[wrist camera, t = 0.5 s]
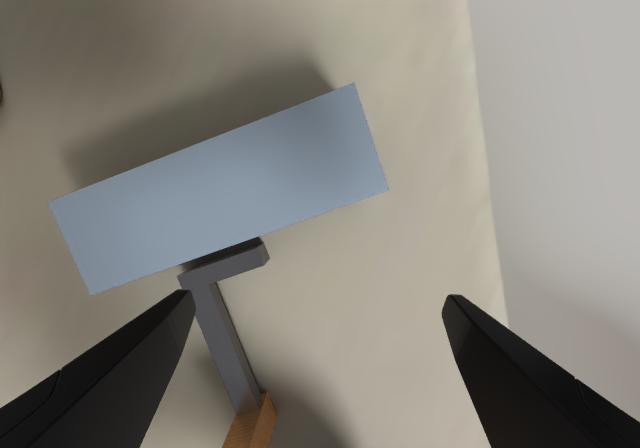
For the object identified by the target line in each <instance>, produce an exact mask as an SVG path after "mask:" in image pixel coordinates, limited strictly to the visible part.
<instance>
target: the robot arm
mask: <svg viewBox="0 0 640 448" xmlns="http://www.w3.org/2000/svg"><path fill="white" fill-rule="evenodd" d="M195 313H196V304H195V301H194V298H193V294H192V291H191V290H189V289H178V290H176V291H175V292H173V293H172V294H170V295H169V296H167V297H166V298H164V299H163V300H161V301H160V302H158V303H157V304H155V305H154V306H152V307H151V308H149V309H148V310H146V311H145V312H144V313H142V314H141V315H139V316H138V317H136V318H135V319H133V320H132V321H130V322H129V323H127V324H126V325H124V326H123V327H121V328H120V329H118V330H117V331H116V332H114V333H113V334H111V335H110V336H108V337H107V338H105V339H104V340H102V341H101V342H99V343H98V344H96V345H95V346H93V347H92V348H90V349H89V350H87V351H86V352H85V353H83V354H82V355H80V356H79V357H77V358H76V359H74V360H73V361H71V362H70V363H68V364H67V365H65V366H64V367H63V368H62V369H61V370H58V371H56V372H55V373H53V374H52V375H50V376H49V377H48V378H46V379H45V380H43V381H42V382H40V383H39V384H37V385H36V386H34V387H32V388H31V389H29V390H28V391H26V392H25V393H23V394H22V395H20V396H19V397H17V398H16V399H14V400H13V401H11V402H9V403H8V404H6V405H5V406H3V407H1V408H0V448H140V445H141V443H142V441H143V439H144V437H145V434H146V432H147V430H148V428H149V426H150V423H151V421H152V419H153V417H154V415H155V412H156V410H157V408H158V406H159V404H160V401H161V399H162V397H163V395H164V392H165V390H166V388H167V386H168V384H169V381H170V379H171V377H172V375H173V373H174V370H175V368H176V366H177V364H178V362H179V359H180V357H181V354H182V352H183V349H184V346H185V343H186V340H187V337H188V334H189V331H190V328H191V325H192V322H193V319H194V316H195ZM442 319H443V322H444V325H445V329H446V332H447V335H448V339H449V342H450V345H451V349H452V352H453V355H454V358H455V361H456V363H457V366H458V369H459V371H460V373H461V376H462V378H463V381H464V383H465V385H466V388H467V390H468V393H469V395H470V397H471V400H472V402H473V405H474V407H475V409H476V412H477V414H478V417H479V419H480V421H481V424H482V426H483V429H484V431H485V433H486V436H487V438H488V441H489V443H490V445H491V448H640V422H639V421H637V420H636V419H634V418H633V417H631V416H629V415H628V414H627V413H625V412H624V411H622V410H620V409H619V408H618V407H616V406H615V405H613V404H612V403H611V402H609V401H608V400H606V399H605V398H603V397H602V396H601V395H599V394H598V393H596V392H595V391H594V390H592V389H591V388H589V387H588V386H587V385H585V384H584V383H582V382H581V381H580V380H578V379H575V377H574V376H573V375H571V374H570V373H569V372H567V371H566V370H564V369H563V368H562V367H560V366H559V365H557V364H556V363H555V362H553V361H552V360H551V359H549V358H548V357H546V356H545V355H544V354H542V353H541V352H539V351H538V350H537V349H535V348H534V347H533V346H531V345H530V344H528V343H527V342H526V341H524V340H523V339H521V338H520V337H519V336H517V335H516V334H515V333H513V332H512V331H510V330H509V329H508V328H506V327H505V326H504V325H502V324H501V323H499V322H498V321H497V320H495V319H494V318H492V317H491V316H490V315H488V314H487V313H486V312H484V311H483V310H481V309H480V308H479V307H477V306H476V305H474V304H473V303H472V302H470V301H469V300H468V299H466V298H465V297H463V296H462V295H457V294H450V295H448V296H447V298H446V301H445V303H444V306H443V309H442Z"/></svg>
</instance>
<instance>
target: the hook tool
mask: <svg viewBox="0 0 640 448" xmlns="http://www.w3.org/2000/svg"><path fill="white" fill-rule="evenodd" d="M269 259H270V258H269V255H268V252H267V250H266V247H265V245H264V243H262V244H259V245H256V246H253V247H251V248H248V249H245V250H242V251H239V252H236V253H233V254H231V255H228V256H225V257H222V258H219V259H216V260H214V261H211V262H208V263H205V264H202V265H199V266H196V267H194V268H191V269H189V270H187V271H185V272H183V273H181V274H180V275H178V276H177V278H178V280H179V282H180V285H181V287H182V289H189V290H191V291H192V294H193V298H194V301H195V304H196V313H195V316H196V319H197V321H198V323H199V326H200V328H201V330H202V333H203V335H204V338H205V340H206V342H207V345H208V347H209V350H210V352H211V354H212V357H213V359H214V361H215V364H216V366H217V369H218V371H219V373H220V376H221V378H222V380H223V383H224V385H225V388H226V390H227V392H228V395H229V397H230V400H231V402H232V404H233V407H234V409H235V411H236V416H235V418H234V420H233V423H232V425H231V427H230V430H229V432H228V434H227V437H226V439H225V441H224V444H223V446H222V448H269V445H270V441H271V436H272V432H273V428H274V424H275V420H276V416H277V414H276V412H275V409H274V407H273V404H272V402H271V399H270V397H269V394H268V392H264V393H261V394H260V391H259V389H258V386H257V384H256V381H255V379H254V377H253V374H252V372H251V369H250V367H249V364H248V362H247V359H246V357H245V354H244V352H243V350H242V347H241V345H240V342H239V340H238V337H237V335H236V332H235V330H234V327H233V325H232V323H231V320H230V318H229V315H228V313H227V310H226V308H225V305H224V303H223V300H222V298H221V295H220V293H219V291H218V288H217V286H216V283H215V282H217V281H220V280H223V279H226V278H229V277H232V276H234V275H237V274H240V273H243V272H246V271H249V270H252V269H255V268H258V267H261V266H264V265H265V263H266V262H267V261H268V260H269Z"/></svg>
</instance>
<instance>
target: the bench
mask: <svg viewBox="0 0 640 448" xmlns="http://www.w3.org/2000/svg"><path fill="white" fill-rule="evenodd" d="M388 190H389V188H388V185H387V182H386V179H385V175H384V172H383V169H382V166H381V163H380V160H379V157H378V154H377V151H376V148H375V145H374V142H373V139H372V136H371V133H370V130H369V127H368V123H367V120H366V117H365V114H364V111H363V108H362V105H361V102H360V99H359V96H358V93H357V90H356V87H355V84H354V83H352V84H349V85H347V86H344V87H341V88H339V89H336V90H334V91H331V92H329V93H326V94H324V95H321V96H318V97H316V98H313V99H311V100H308V101H306V102H303V103H300V104H298V105H295V106H293V107H290V108H288V109H285V110H282V111H280V112H277V113H275V114H272V115H270V116H267V117H264V118H262V119H259V120H257V121H254V122H252V123H249V124H246V125H244V126H241V127H239V128H236V129H234V130H231V131H228V132H226V133H223V134H221V135H218V136H216V137H213V138H210V139H208V140H205V141H203V142H200V143H198V144H195V145H193V146H190V147H187V148H185V149H182V150H180V151H177V152H175V153H172V154H169V155H167V156H164V157H162V158H159V159H157V160H154V161H151V162H149V163H146V164H144V165H141V166H139V167H136V168H133V169H131V170H128V171H126V172H123V173H121V174H118V175H115V176H113V177H110V178H108V179H105V180H103V181H100V182H97V183H95V184H92V185H90V186H87V187H85V188H82V189H80V190H77V191H74V192H72V193H69V194H67V195H64V196H62V197H59V198H56V199H54V200H51V201H49V202H47V203H48V205H49V208H50V210H51V212H52V214H53V216H54V218H55V221H56V223H57V225H58V227H59V229H60V231H61V234H62V236H63V238H64V240H65V242H66V244H67V247H68V249H69V251H70V253H71V255H72V257H73V260H74V262H75V264H76V266H77V268H78V270H79V273H80V275H81V277H82V279H83V281H84V283H85V286H86V288H87V290H88V292H89V294H90V296H91V295H94V294H97V293H99V292H102V291H105V290H108V289H111V288H114V287H116V286H119V285H122V284H125V283H128V282H131V281H133V280H136V279H139V278H142V277H145V276H148V275H150V274H153V273H156V272H159V271H162V270H164V269H167V268H170V267H173V266H176V265H179V264H181V263H184V262H187V261H190V260H193V259H196V258H198V257H201V256H204V255H207V254H210V253H213V252H215V251H218V250H221V249H224V248H227V247H230V246H232V245H235V244H238V243H241V242H244V241H247V240H249V239H252V238H255V237H258V236H261V235H264V234H266V233H269V232H272V231H275V230H278V229H281V228H283V227H286V226H289V225H292V224H295V223H298V222H300V221H303V220H306V219H309V218H312V217H315V216H317V215H320V214H323V213H326V212H329V211H332V210H334V209H337V208H340V207H343V206H346V205H349V204H351V203H354V202H357V201H360V200H363V199H366V198H368V197H371V196H374V195H377V194H380V193H382V192H385V191H388Z"/></svg>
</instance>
